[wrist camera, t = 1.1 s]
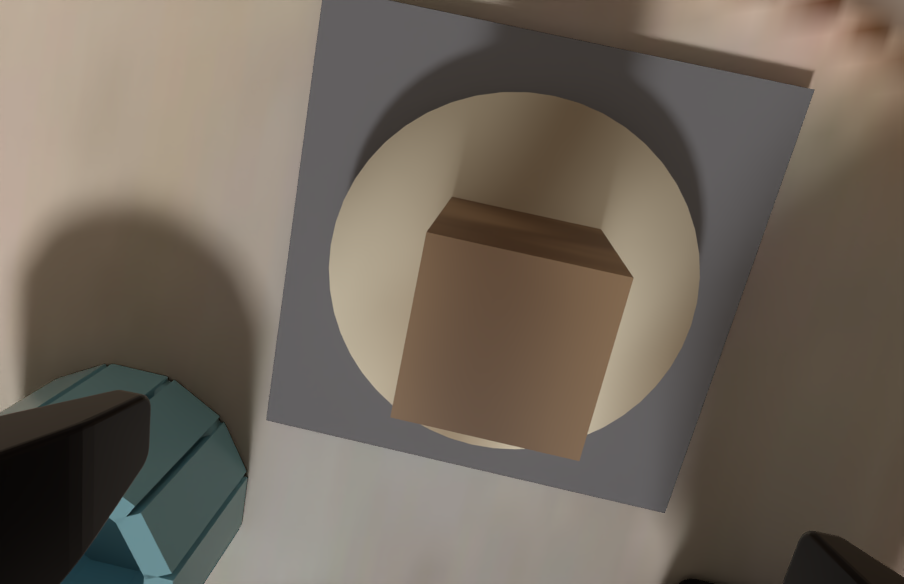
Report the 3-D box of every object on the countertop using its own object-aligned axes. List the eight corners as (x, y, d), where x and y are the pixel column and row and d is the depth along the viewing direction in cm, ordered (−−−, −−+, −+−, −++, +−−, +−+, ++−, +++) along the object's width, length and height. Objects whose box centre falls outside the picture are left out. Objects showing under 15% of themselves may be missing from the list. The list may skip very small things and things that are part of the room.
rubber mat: (808, 90, 17) (814, 89, 17) (662, 505, 21) (664, 513, 20) (328, -11, 17) (324, -14, 17) (270, 414, 21) (266, 420, 21)
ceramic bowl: (257, 397, 21) (182, 483, 16) (232, 594, 23) (160, 719, 19) (23, 343, 21) (-119, 412, 17) (21, 542, 24) (-104, 653, 19)
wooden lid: (737, 135, 17) (853, 151, 11) (631, 461, 20) (679, 611, 14) (370, 58, 18) (293, 34, 12) (318, 389, 20) (236, 505, 14)
